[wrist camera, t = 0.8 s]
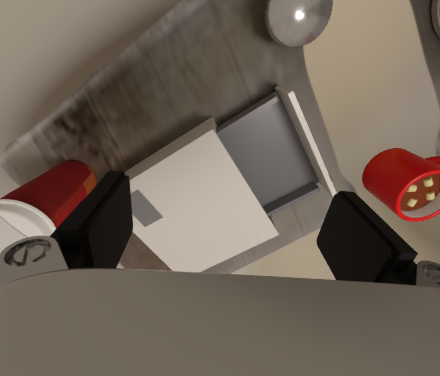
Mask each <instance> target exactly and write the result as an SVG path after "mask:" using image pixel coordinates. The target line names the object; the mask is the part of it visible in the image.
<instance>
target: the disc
mask: <svg viewBox="0 0 440 376" xmlns="http://www.w3.org/2000/svg"><path fill="white" fill-rule="evenodd" d="M332 2H333V1H332V0H268V1H267V4H266V9H265V23H266V27H267V30H268V33H269V35H270V36H271V38H272V39H273V40H274V41H275V42H276V43H278V44H279V45H282V46H285V47H297V46H303V45H306V44H308V43H310V42H312V41H313V40H314V39H316V38H317V37H318V36H319V35H320V34H321V33H322V31H323V30H324V29H325V27H326V25H327V23H328V21H329V18H330V15H331V11H332V4H333V3H332Z"/></svg>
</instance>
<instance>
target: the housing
mask: <svg viewBox="0 0 440 376" xmlns="http://www.w3.org/2000/svg"><path fill="white" fill-rule="evenodd" d="M217 127H218V125H217V124H216V122H215V120H214V119H213V117H211V118H209V119H207V120H206V121H204V122H203V123H201V124H200V125H198V126H196V127H195V128H193V129H192V130H190V131H188V132H187V133H185V134H184V135H182V136H181V137H179V138H177V139H176V140H174V141H173V142H171V143H170V144H168V145H166V146H165V147H163V148H162V149H160V150H158V151H157V152H155V153H154V154H152V155H151V156H149V157H147V158H146V159H144V160H143V161H141V162H140V163H138V164H136V165H135V166H133V167H132V168H130V169H129V170H127V171H125V172H124V173H125V175H127V176H129V179H130V191H131V204H132V217H133V232H134V233H135V234H136V235H137V236H138V237H139V238H140V239H141V240H142V241H143V242H144V243H145V244H146V245H147V246H148V247H149V248H150V249H151V250H152V251H153V252H154V253H155V254H156V255H157V256H158V257H159V258H160V259H161V260H162V261H163V262H164V263H165V264H166V265H167V266H168V267H170V268H171V269H172V270H173V271H182V272H201V271H203V270H205V269H207V268H209V267H212V266H214V265H216V264H218V263H220V262H222V261H224V260H226V259H229V258H231V257H233V256H235V255H237V254H239V253H241V252H243V251H245V250H248V249H250V248H252V247H254V246H256V245H258V244H260V243H262V242H265V241H267V240H269V239H271V238H273V237H275V236H277V235H279V233H278V231H277V228H276V225H275V223H274V220H273V218H272V215H270V216H268V215H267V214H266V212H265V210H264V209H263V207H262V206H261V204H260V202H259V201H258V199H257V198H256V196H255V194H254V193H253V191H252V190H251V188H250V186H249V185H248V183H247V182H246V180H245V178H244V177H243V175H242V174H241V172H240V170H239V169H238V167H237V166H236V164H235V163H234V161H233V159H232V158H231V156H230V155H229V153H228V151H227V150H226V148H225V147H224V145H223V143H222V142H221V140H220V139H219V137H218V135H217V134H216V128H217Z"/></svg>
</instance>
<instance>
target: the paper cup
mask: <svg viewBox="0 0 440 376" xmlns="http://www.w3.org/2000/svg"><path fill="white" fill-rule="evenodd" d="M96 182H97V179H96V175H95V173H94V171H93V170H92V169H91V168H90V167H89V166H88V165H86V164H85V163H83V162H80V161H76V160H69V161H66V162H63V163H61V164H59V165H58V166H56V167H54V168H52V169H51V170H49V171H47V172H45V173H44V174H42V175H40V176H39V177H37V178H35V179H33V180H32V181H30V182H28V183H26V184H24V185H23V186H21V187H19V188H17V189H16V190H14V191H12V192H10V193H9V194H7V195H6V196H4V197H2V198H1V199H0V253H1V251H2V250H4V249H5V248H6V247H7V246H9V245H11V244H12V243H14V242H16V241H18V240H21V239H24V238H27V237H32V236H50V235H51V234H52V233H53V232H54V231H55V230H56V229H57V227H58V226H59V225H60V224H61V223H62V222H63V221H64V220H65V219H66V217H67V216H68V215H69V214H70V213H71V212H72V211H73V210H74V209H75V207H76V206H77V205H78V204H79V203H80V202H81V201H82V200H83V199H85V198H86V196H87V195H88V194H89V193H90V192H91V191H92V190H93V189H94V187H95V186H96Z"/></svg>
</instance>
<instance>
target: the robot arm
mask: <svg viewBox="0 0 440 376" xmlns="http://www.w3.org/2000/svg"><path fill="white" fill-rule="evenodd" d="M431 12H432V23H433V26H434V29H435V32H436V33H437V35H438V37H439V38H440V0H432V9H431ZM132 231H133V217H132V204H131V191H130V179H129V176H127V175H125V173H124V172H119V171H109V172H108V173H107V174H106V175H105V176H104V177H103V179H102V180H101V181H100V182H99V183H98V184H97V185H96V186H95V187H94V189H93V190H92V191H91V192H90V193H89V194H88V195H87V196H86V198H85V199H83V200H82V201H81V202H80V203H79V204H78V205H77V206H76V207H75V209H74V210H73V211H72V212H71V213H70V214H69V215H68V216H67V217H66V219H65V220H64V221H63V222H62V223H61V224H60V225H59V226H58V227H57V229H56V230H55V231H54V232H53V233H52V234H51V235H50V236H32V237H27V238H24V239H21V240H18V241H16V242H14V243H12V244H11V245H9V246H7V247H6V248H5V249H4V250H2V251H1V253H0V376H440V264H438V263H435V262H430V261H421V262H418V264H415V262H414V261H413V260H414V259H415V257H416V256H417V254H418V253H417V252H416V251H415V250H413V248H411V247H410V246H409V245H408V244H407V243H406V242H405V241H404V240H403V239H402V238H401V237H400V236H399V235H398V234H397V233H396V232H395V231H394V230H393V229H392V228H391V227H390V226H389V225H388V224H387V223H386V222H385V221H384V220H383V219H382V218H381V217H379V216H378V215H377V214H376V213H375V212H374V211H373V210H372V209H371V208H370V207H369V206H368V205H367V204H366V203H365V202H364V201H363V200H362V199H361V198H360V197H359V196H358V195H357V194H356V193H354V192H348V191H340V192H338V194H335V195H334V197H333V199H332V202H331V204H330V207H329V209H328V212H327V214H326V217H325V219H324V222H323V225H322V227H321V230H320V232H319V235H318V237H317V245H318V248H319V249H320V251H321V253H322V255H323V257H324V258H325V260H326V262H327V264H328V265H329V267H330V269H331V271H332V273H333V275H334V277H335V278H336V280H325V279H324V280H323V279H308V278H291V277H273V276H255V275H237V274H219V273H201V272H182V271H163V270H143V269H118V268H116V267H117V265H118V263H119V260H120V258H121V256H122V254H123V252H124V249H125V247H126V245H127V243H128V241H129V238H130V236H131V234H132Z"/></svg>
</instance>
